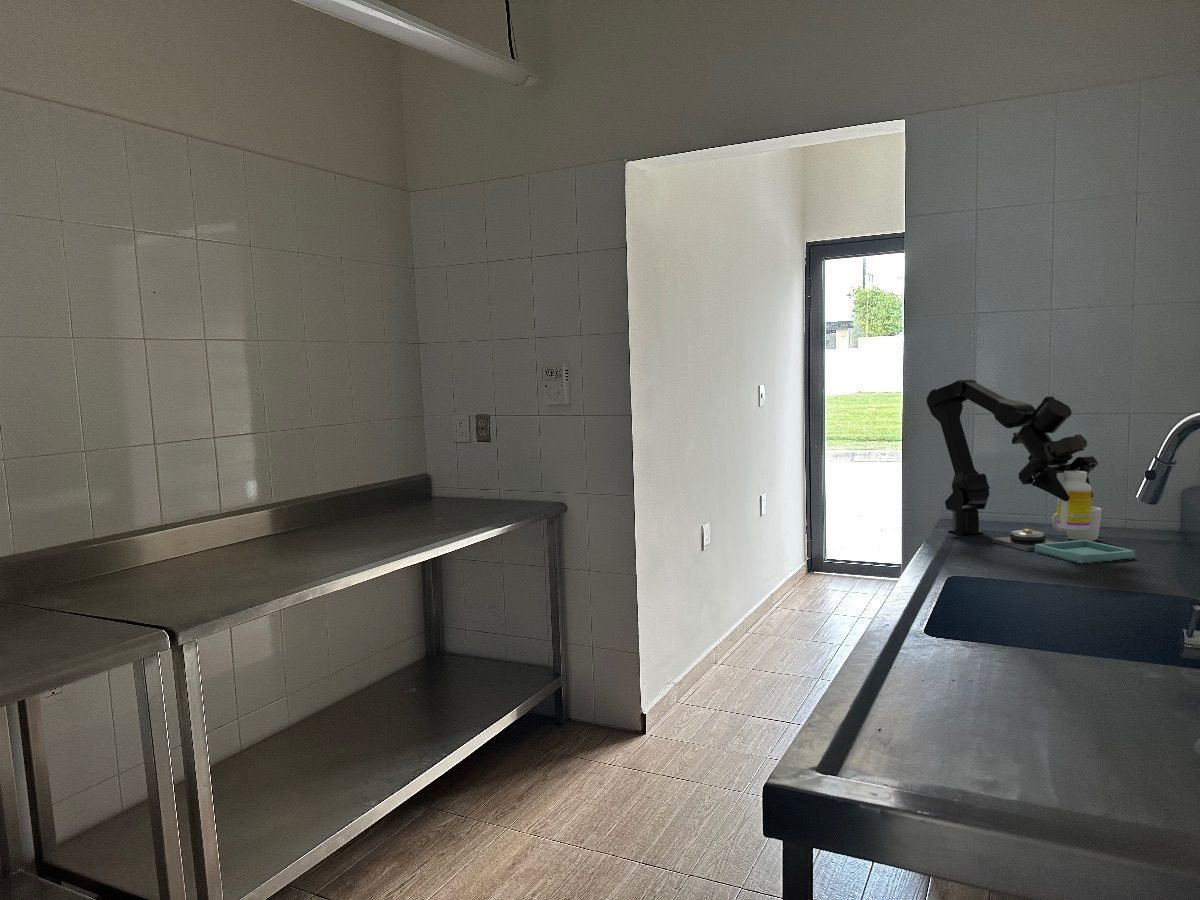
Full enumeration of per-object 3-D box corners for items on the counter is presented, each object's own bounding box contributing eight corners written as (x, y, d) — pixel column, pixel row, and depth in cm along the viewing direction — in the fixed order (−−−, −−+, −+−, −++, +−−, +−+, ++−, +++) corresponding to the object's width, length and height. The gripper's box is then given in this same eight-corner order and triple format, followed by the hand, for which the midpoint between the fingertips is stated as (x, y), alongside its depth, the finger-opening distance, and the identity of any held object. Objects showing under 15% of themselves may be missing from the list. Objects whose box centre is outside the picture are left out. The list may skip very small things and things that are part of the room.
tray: (1034, 551, 198) (1034, 544, 198) (1084, 547, 202) (1084, 539, 202) (1081, 564, 185) (1082, 556, 185) (1134, 558, 188) (1135, 550, 188)
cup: (1055, 542, 209) (1055, 510, 208) (1048, 536, 216) (1048, 505, 215) (1105, 543, 205) (1105, 510, 205) (1096, 537, 213) (1096, 505, 212)
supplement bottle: (1096, 529, 190) (1099, 472, 189) (1075, 531, 188) (1078, 473, 187) (1070, 525, 196) (1073, 469, 195) (1049, 526, 194) (1051, 470, 193)
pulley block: (992, 542, 211) (992, 527, 211) (1027, 539, 213) (1027, 524, 213) (1027, 551, 199) (1028, 535, 199) (1063, 548, 202) (1064, 532, 201)
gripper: (1029, 425, 191) (1070, 479, 181) (1092, 421, 197) (1134, 473, 187) (1001, 457, 199) (1039, 510, 189) (1062, 452, 205) (1102, 504, 196)
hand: (1079, 499), depth 190 cm, fingers closed on supplement bottle, 7 cm apart
